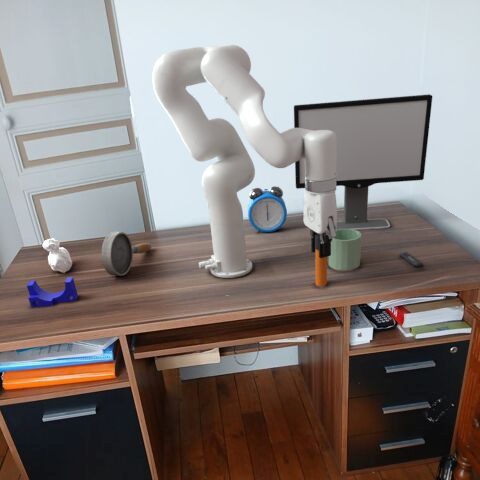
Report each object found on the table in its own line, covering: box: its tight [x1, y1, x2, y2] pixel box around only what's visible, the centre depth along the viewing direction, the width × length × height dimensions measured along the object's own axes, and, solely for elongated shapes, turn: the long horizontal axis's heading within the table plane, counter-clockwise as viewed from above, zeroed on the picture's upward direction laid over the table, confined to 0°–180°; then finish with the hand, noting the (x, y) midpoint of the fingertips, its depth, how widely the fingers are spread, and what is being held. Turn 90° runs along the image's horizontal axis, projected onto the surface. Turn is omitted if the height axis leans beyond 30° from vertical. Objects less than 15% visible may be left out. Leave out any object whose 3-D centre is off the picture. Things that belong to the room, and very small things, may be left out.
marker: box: [314, 233, 328, 287], centre depth 134 cm, size 3×3×14 cm
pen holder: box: [327, 229, 362, 271], centre depth 145 cm, size 9×9×10 cm
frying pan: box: [101, 231, 152, 277], centre depth 157 cm, size 13×3×25 cm
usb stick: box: [399, 251, 424, 269], centre depth 144 cm, size 10×3×2 cm, turn 13°
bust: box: [41, 237, 73, 274], centre depth 159 cm, size 12×8×11 cm
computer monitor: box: [293, 93, 433, 231], centre depth 163 cm, size 41×8×40 cm, turn 88°
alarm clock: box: [247, 185, 288, 234], centre depth 172 cm, size 13×6×15 cm, turn 91°
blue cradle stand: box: [26, 276, 79, 308], centre depth 140 cm, size 12×4×6 cm, turn 92°
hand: (321, 253), depth 132 cm, fingers open, 3 cm apart
